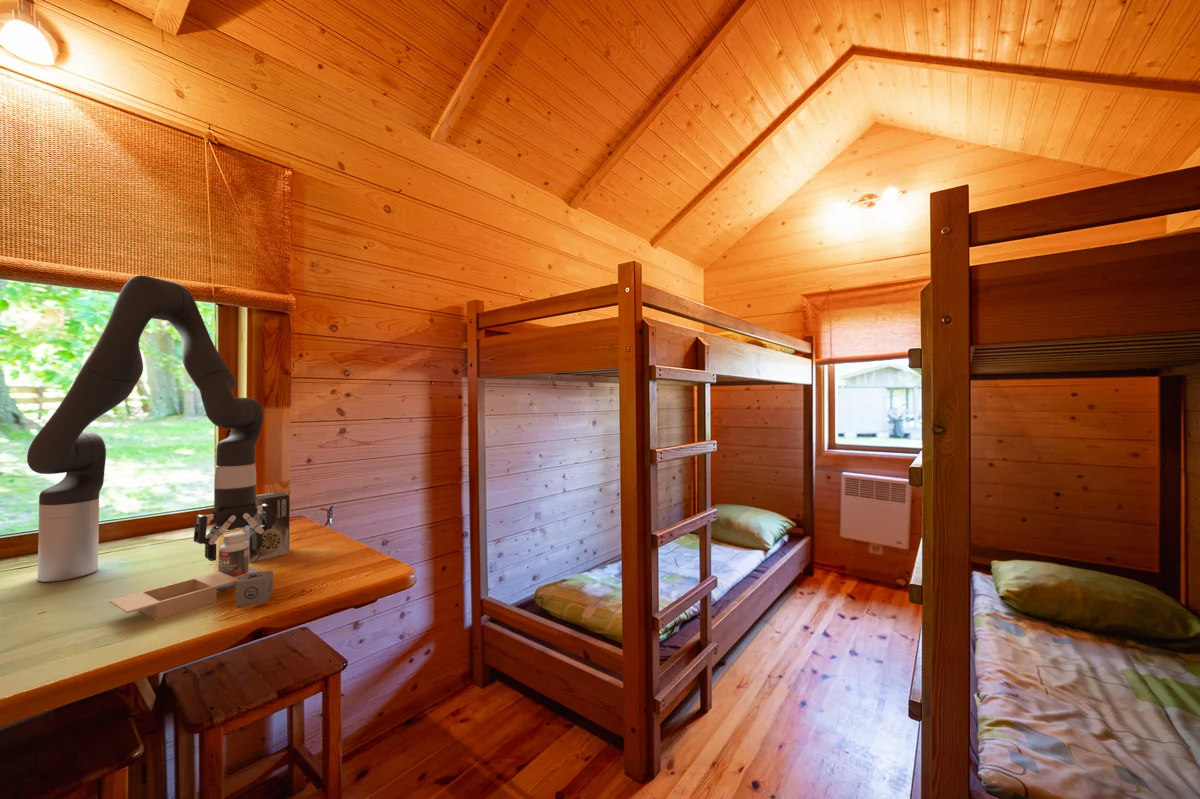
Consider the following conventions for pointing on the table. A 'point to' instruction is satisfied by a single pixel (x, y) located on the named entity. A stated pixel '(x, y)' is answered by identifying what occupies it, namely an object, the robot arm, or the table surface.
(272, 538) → the coffee box
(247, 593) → the dice cube
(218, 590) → the mat
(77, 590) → the table surface
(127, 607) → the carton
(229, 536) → the pill bottle
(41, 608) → the table surface
